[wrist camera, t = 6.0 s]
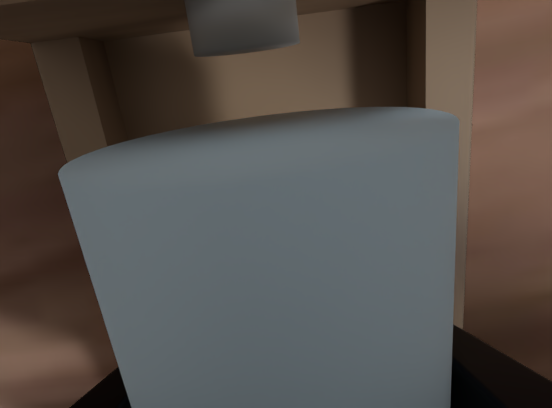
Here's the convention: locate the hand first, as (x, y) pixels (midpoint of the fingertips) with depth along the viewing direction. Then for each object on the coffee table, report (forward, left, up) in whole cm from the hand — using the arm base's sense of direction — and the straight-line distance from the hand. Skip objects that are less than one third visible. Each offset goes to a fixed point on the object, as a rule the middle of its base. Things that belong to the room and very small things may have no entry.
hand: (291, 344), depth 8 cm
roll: (0, 0, -1) cm, 1 cm away
